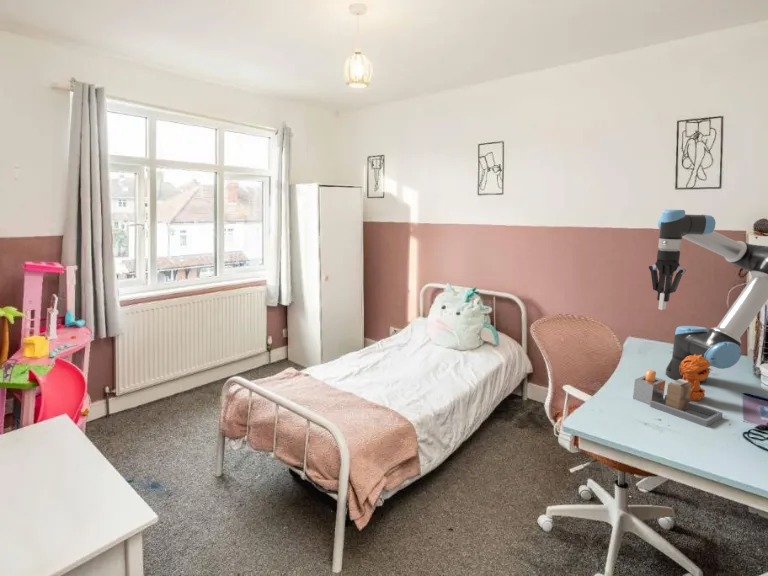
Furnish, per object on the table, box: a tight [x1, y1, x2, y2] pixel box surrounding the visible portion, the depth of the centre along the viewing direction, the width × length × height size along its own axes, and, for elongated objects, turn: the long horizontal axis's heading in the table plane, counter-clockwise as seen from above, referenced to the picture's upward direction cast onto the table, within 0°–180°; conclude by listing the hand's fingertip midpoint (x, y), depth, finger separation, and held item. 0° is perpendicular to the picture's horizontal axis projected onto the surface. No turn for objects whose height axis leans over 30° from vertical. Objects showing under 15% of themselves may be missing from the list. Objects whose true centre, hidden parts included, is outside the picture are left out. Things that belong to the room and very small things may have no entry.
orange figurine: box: [679, 354, 712, 402], centre depth 182 cm, size 11×11×18 cm
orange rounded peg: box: [645, 369, 657, 383], centre depth 181 cm, size 3×3×6 cm
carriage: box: [664, 379, 692, 412], centre depth 173 cm, size 8×4×11 cm, turn 123°
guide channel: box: [649, 394, 723, 428], centre depth 171 cm, size 12×19×2 cm, turn 33°
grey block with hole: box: [632, 374, 666, 406], centre depth 182 cm, size 9×7×8 cm
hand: (661, 309), depth 184 cm, fingers closed
